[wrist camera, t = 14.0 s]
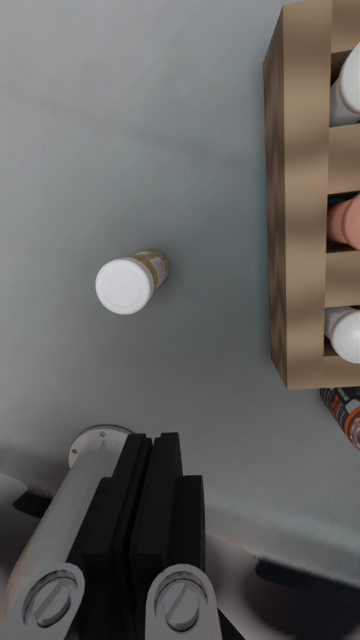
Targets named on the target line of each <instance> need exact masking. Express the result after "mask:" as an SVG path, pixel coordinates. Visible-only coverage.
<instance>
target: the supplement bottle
mask: <svg viewBox="0 0 360 640" xmlns="http://www.w3.org/2000/svg"><path fill="white" fill-rule="evenodd" d="M321 396H322V399H323V401H324V404H325V405H326V406H327V408H328V409H329V411H330V412H331V414H332V415H333V417H334V418H335V420H336V421H337V423H338V424H339V426H340V427H341V429H342V430H343V432H344V433H345V435H346V436H347V438H348V439H349V440H350V442H351V443H352V445H353V446H354V447H355V448H357V449H358V450H360V386H354V387H335V388H322V389H321Z"/></svg>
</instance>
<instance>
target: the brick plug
mask: <svg viewBox="0 0 360 640" xmlns="http://www.w3.org/2000/svg"><path fill="white" fill-rule="evenodd" d="M326 242H335V243H346V244H349V245H350V246H352V247H353V248H355V249H357V250H359V251H360V193H359V194H358V195H357V196H355V197H354V198H353V199H351V200H346V201H342V202H337V203H333V204H328V205H327V233H326Z"/></svg>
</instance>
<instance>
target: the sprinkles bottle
mask: <svg viewBox="0 0 360 640" xmlns="http://www.w3.org/2000/svg"><path fill="white" fill-rule="evenodd" d="M168 273H169V265H168V261H167V259H166V258H165V256H164V255H163V254H162V253H160V252H159V251H157V250H153V249H151V250H150V249H149V250H144V251H142V252H140V253H137V254H134V255H132V256H130V257H122V258H118V259H115V260H112V261H110V262H108V263H107V264H105V265H104V266H103V267H102V268H101V269H100V271H99V273H98V275H97V278H96V283H95V285H96V293H97V296H98V298H99V300H100V301H101V303H102V304H103V305H104V306H105V307H106V308H107V309H109V310H110V311H112V312H114V313H117V314H132V313H135V312H137V311H139V310H140V309H142V308H143V307H144V306H145V305H146V304H147V302H148V301H149V300H150V298H151V296H152V294H153V293H154V292H155V291H156V290H157V289H158V287H159V286H160V285H161V283H163V282H164V281H165V280H166V278H167V276H168Z"/></svg>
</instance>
